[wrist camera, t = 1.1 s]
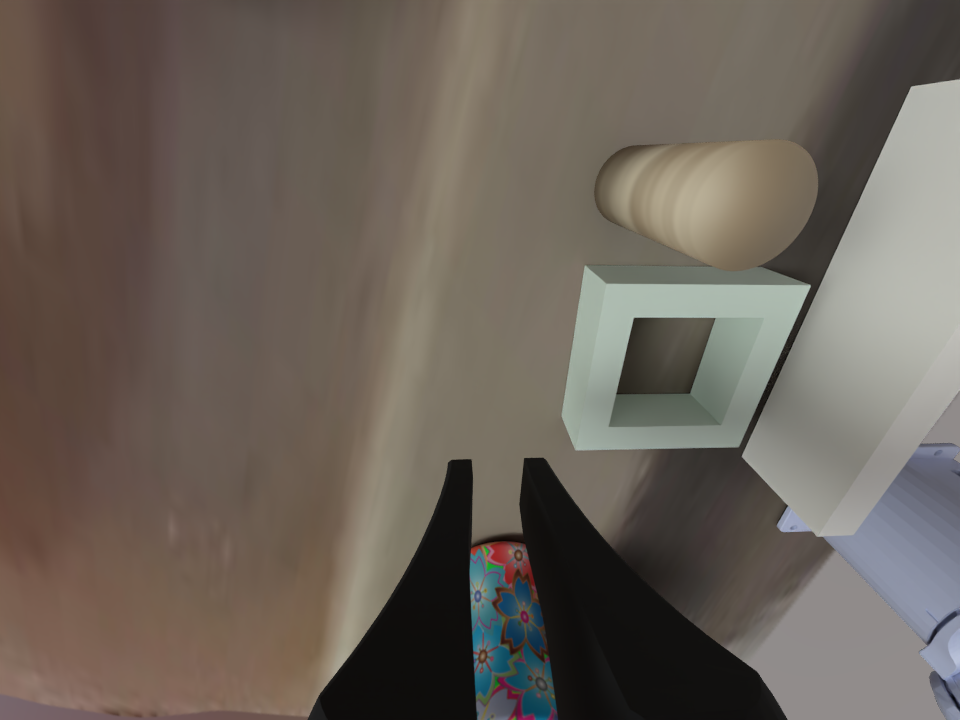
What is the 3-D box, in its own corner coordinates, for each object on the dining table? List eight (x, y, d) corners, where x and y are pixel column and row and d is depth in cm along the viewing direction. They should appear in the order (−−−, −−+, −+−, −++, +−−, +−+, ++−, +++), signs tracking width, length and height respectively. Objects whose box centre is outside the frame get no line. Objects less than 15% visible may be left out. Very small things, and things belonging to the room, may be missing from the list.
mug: (564, 525, 28) (620, 716, 18) (551, 600, 32) (590, 785, 23) (395, 532, 27) (364, 734, 18) (406, 608, 31) (385, 801, 22)
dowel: (674, 146, 16) (840, 141, 9) (656, 225, 18) (787, 271, 11) (601, 144, 16) (714, 137, 9) (589, 223, 18) (678, 270, 11)
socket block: (762, 267, 19) (810, 285, 16) (706, 413, 23) (738, 447, 21) (584, 265, 19) (606, 283, 16) (561, 415, 23) (575, 450, 20)
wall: (956, 88, 16) (1204, 56, 11) (770, 455, 25) (853, 535, 20) (911, 86, 16) (1141, 52, 10) (741, 456, 25) (817, 536, 20)
